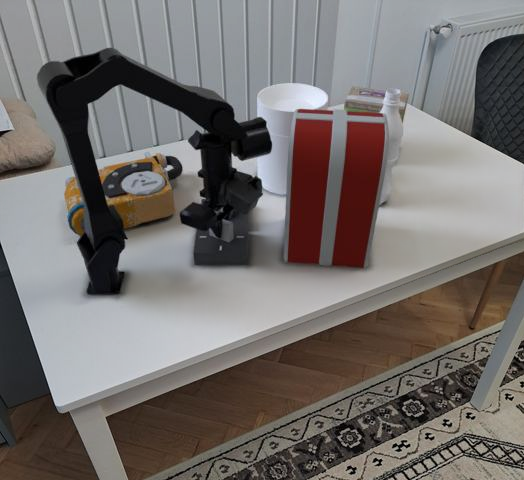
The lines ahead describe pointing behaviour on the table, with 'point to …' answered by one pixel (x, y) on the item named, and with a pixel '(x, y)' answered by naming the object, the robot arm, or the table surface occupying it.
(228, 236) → the grey rectangular block
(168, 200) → the device
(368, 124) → the wrapped gift box
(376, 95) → the tea box
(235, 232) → the panel
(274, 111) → the canister
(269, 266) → the table surface
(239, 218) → the button block
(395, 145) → the water bottle
